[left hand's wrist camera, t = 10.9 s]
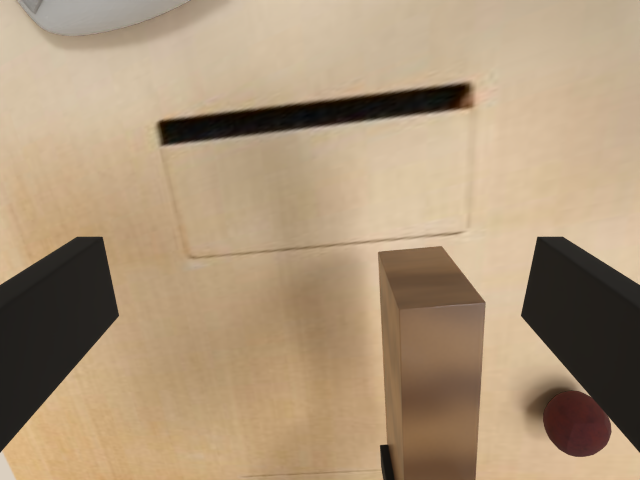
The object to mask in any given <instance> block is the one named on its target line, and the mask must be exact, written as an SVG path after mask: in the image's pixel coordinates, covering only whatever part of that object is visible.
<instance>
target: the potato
mask: <svg viewBox="0 0 640 480" xmlns="http://www.w3.org/2000/svg"><path fill="white" fill-rule="evenodd" d="M543 422H544V427H545V430H546V433H547V435H548V437H549V439H550V440H551V441H552V442H553V443H554V444H555V445H556V446H557V448H558V449H560V450H561V451H563V452H565V453H566V454H568V455H571V456H575V457H585V456H590V455H594V454H595V453H597V452H598V451H600V450H601V449H603V448H604V447H605V446H606V445H607V443H608V441H609V438H610V435H611V423H610V420H609V417H608V416H607V414H606V413H605V412H604V411H603V410H602V409H601V407H600V406H599V405H598V404H597V403H596V402H595V400H594V399H593V398H592V397H590V396H588V395H586V394H584V393H582V392H579V391H567V392H562V393H560V394H558V395H556V396H555V397H554V398H552V399H551V400H550V402H549V403H548V405H547V406H546V408H545V410H544V413H543Z"/></svg>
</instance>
